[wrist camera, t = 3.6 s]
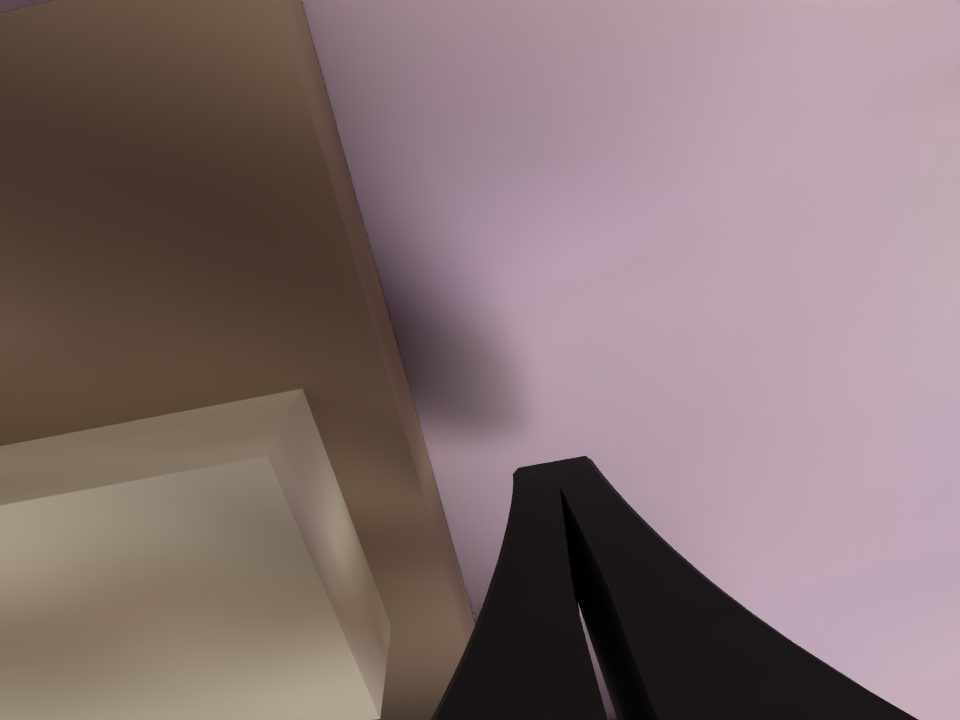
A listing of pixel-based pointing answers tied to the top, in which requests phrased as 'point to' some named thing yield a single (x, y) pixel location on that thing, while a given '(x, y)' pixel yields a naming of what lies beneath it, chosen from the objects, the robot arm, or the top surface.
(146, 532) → the birch block
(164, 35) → the walnut board
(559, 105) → the top surface
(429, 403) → the top surface
